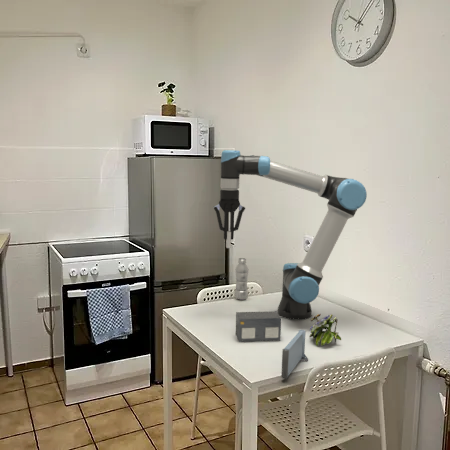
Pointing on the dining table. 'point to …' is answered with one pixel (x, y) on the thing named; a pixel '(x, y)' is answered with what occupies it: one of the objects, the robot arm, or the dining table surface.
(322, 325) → the passion flower
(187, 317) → the dining table surface
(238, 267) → the plastic bottle
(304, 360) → the arm mount
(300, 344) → the blue-grey flat panel
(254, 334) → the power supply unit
